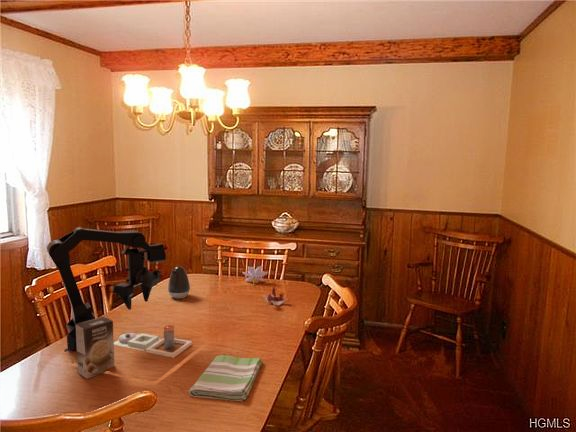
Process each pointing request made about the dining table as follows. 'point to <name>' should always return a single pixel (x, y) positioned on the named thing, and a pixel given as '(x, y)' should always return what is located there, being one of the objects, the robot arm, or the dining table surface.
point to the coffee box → (94, 346)
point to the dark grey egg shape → (178, 283)
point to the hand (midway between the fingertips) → (138, 305)
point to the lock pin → (169, 337)
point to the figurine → (274, 298)
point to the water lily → (255, 274)
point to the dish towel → (227, 378)
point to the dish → (169, 354)
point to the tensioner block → (137, 341)
